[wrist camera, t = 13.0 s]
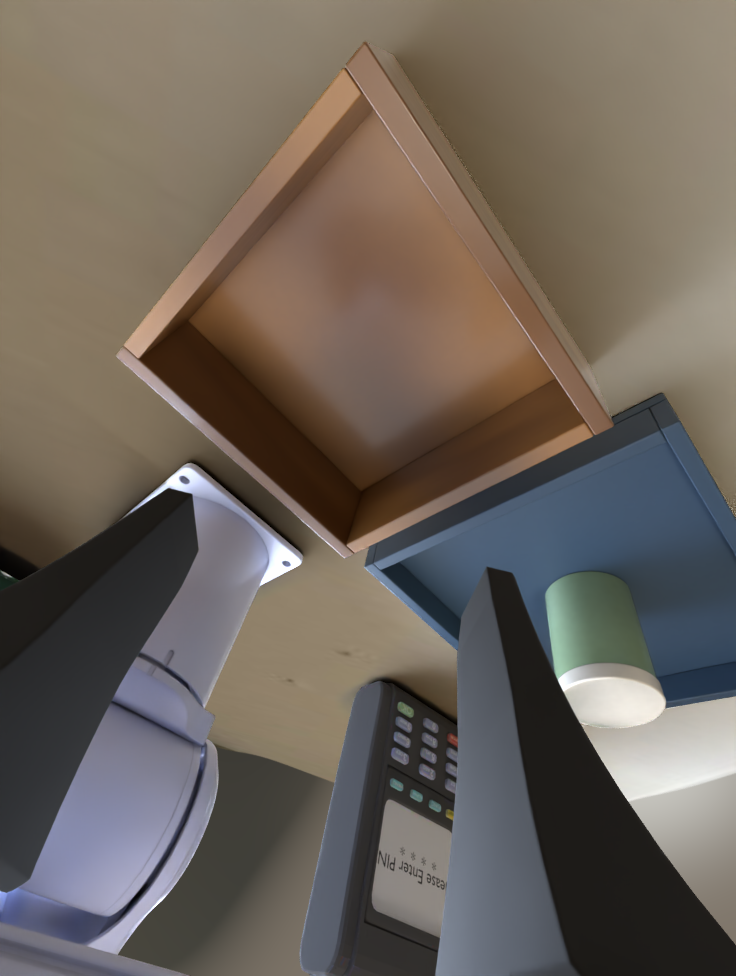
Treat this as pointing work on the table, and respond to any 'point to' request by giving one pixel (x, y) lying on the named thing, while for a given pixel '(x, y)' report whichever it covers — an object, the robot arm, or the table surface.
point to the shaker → (602, 651)
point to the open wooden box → (367, 325)
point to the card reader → (385, 842)
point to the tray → (594, 546)
